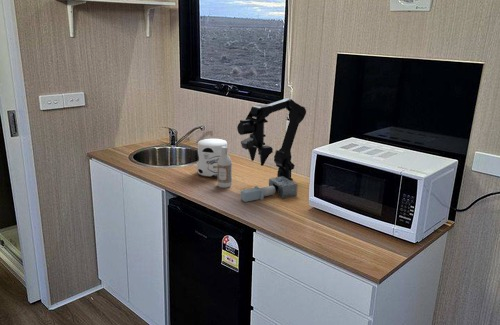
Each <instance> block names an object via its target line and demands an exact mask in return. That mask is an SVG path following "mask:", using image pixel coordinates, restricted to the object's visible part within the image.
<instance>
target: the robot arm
mask: <svg viewBox="0 0 500 325" xmlns="http://www.w3.org/2000/svg"><path fill="white" fill-rule="evenodd" d="M251 106H252V107H251V108H250V110H249V113H247V115H246V118H245V119H241V120H239V122H238V124H237V125H236V126H237V127H236V128H237V132H238V134H239V135H240V136H243V135H249V137H247V138H245V139H243V140H240V144H241V148H242V149H244V150H246V151H247V150H248V152H249V157H250V160H251V162H253V161H254V160H255V157H256V154H258V155H259V158H260V166H262V167H263V166H265V165H264V164H265V163H266V161H267V159H268V158H269V156H270V155H271V154H273V153H274V151H273V150H274V149H273V147H272V146H270V145H268V144H267V145H266V142H265V137H266V134H265V123H269V121H268V120H267V119H266V118H267V117H269V115H270V114H272V113H276V112H279V111H282V110H284V109H286V110H287V111H288V120H289V121H288V125H287V129H286V131H285V134H284V135H285V136H284V138H283V140H282V144H281V148H279V150H277V149H276V150H275V154H274V156H273V161H274V164H275V166H276V168H278V171H277V176H276V177H282V176H283V177H285V178H287V179H289V180H291V181H293V180H294V178H292V171H293V170H294V169H295V164H294V163H293V162H292V152H291V150H292V147H293V144H294V140H295V138H296V134H297V131H298V127H299V125H300V123H302V121H303V120H304V119H305V116H306V115H307V109H306V107H305V106H302V105H300V104H299V103H297V102H296V101H294V100H293V99H292V98H288V97H287V98H283V99H280V100H277V101H274V102H270V103H267V104H255V105H251ZM257 151H258V152H257Z"/></svg>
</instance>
